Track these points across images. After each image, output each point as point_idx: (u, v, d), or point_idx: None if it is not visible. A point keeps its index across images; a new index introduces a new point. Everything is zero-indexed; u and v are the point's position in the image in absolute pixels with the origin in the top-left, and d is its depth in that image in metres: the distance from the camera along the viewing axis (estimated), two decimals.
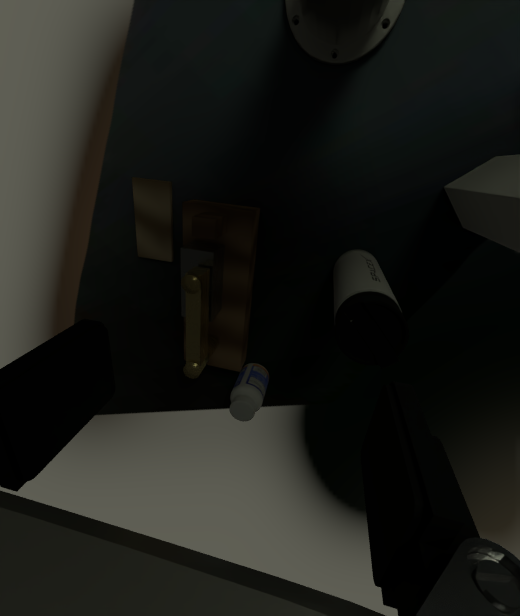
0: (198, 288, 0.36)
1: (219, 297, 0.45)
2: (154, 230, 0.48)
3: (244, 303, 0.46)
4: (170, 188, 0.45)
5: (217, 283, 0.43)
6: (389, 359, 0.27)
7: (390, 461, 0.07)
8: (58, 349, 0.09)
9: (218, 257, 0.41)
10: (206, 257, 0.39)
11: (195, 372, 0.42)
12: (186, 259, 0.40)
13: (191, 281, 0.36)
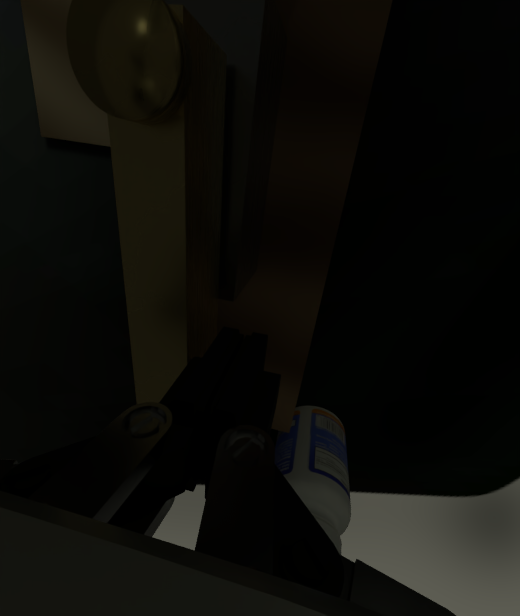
0: (167, 73, 0.06)
1: (257, 228, 0.14)
2: None
3: (327, 253, 0.16)
4: None
5: (259, 168, 0.12)
6: None
7: None
8: (222, 356, 0.09)
9: (273, 52, 0.11)
10: (232, 9, 0.09)
11: None
12: None
13: (123, 24, 0.06)
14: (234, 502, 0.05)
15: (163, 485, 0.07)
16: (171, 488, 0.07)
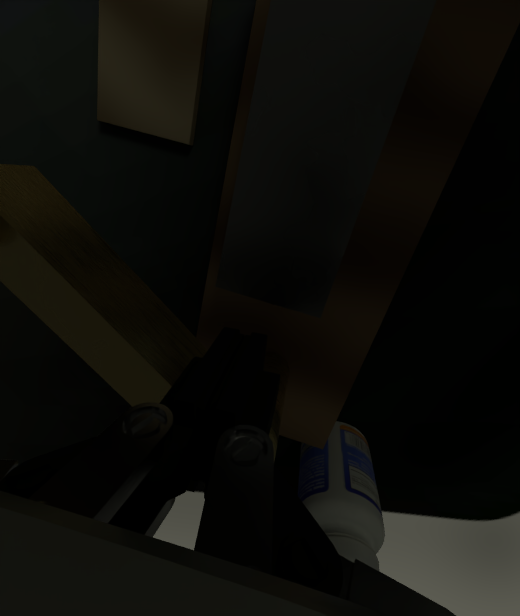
0: None
1: None
2: (152, 35, 0.17)
3: (398, 275, 0.15)
4: None
5: None
6: None
7: None
8: (223, 357, 0.09)
9: None
10: (391, 25, 0.09)
11: None
12: (290, 34, 0.09)
13: None
14: (233, 502, 0.05)
15: (163, 485, 0.07)
16: (171, 489, 0.07)
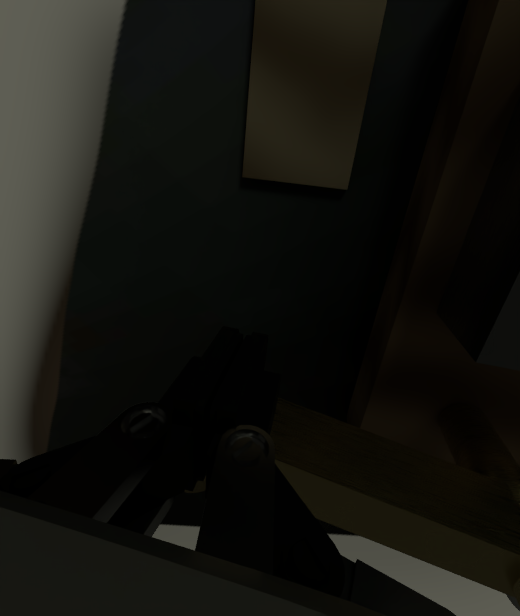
0: None
1: None
2: (311, 82, 0.15)
3: None
4: None
5: None
6: None
7: None
8: (222, 356, 0.09)
9: None
10: None
11: None
12: None
13: None
14: (234, 502, 0.05)
15: (163, 485, 0.07)
16: (170, 488, 0.07)
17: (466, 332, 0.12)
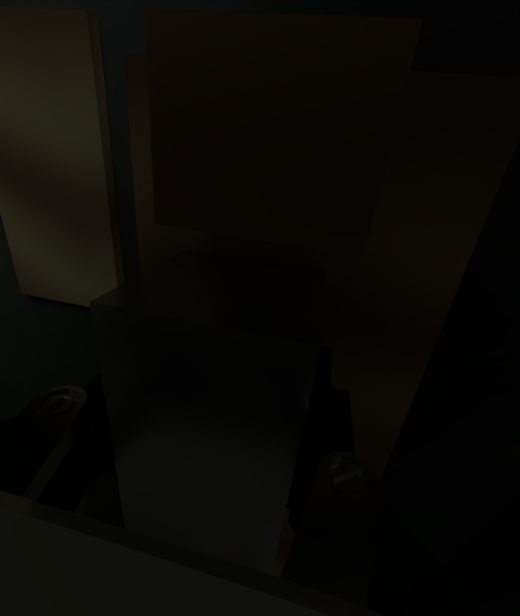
0: None
1: None
2: (55, 212, 0.14)
3: None
4: (93, 43, 0.11)
5: None
6: None
7: None
8: None
9: None
10: (263, 371, 0.06)
11: None
12: (132, 371, 0.06)
13: None
14: (329, 531, 0.05)
15: (88, 458, 0.08)
16: (88, 469, 0.08)
17: None
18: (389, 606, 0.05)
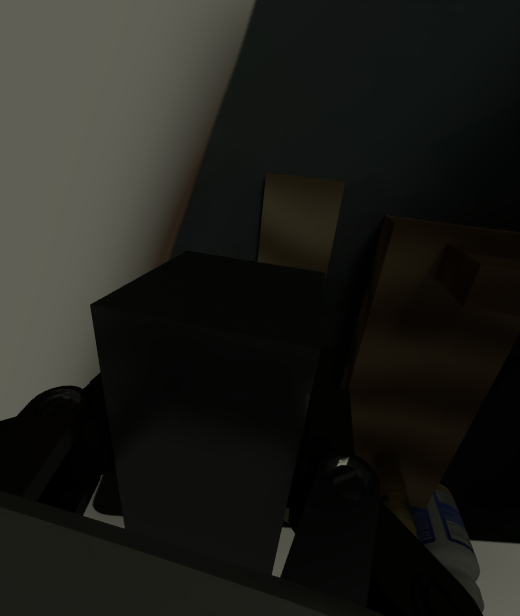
0: None
1: None
2: None
3: (474, 411, 0.24)
4: None
5: None
6: None
7: None
8: None
9: None
10: (262, 374, 0.06)
11: None
12: (132, 373, 0.07)
13: None
14: (330, 531, 0.05)
15: (88, 458, 0.08)
16: (88, 469, 0.08)
17: None
18: (389, 606, 0.05)
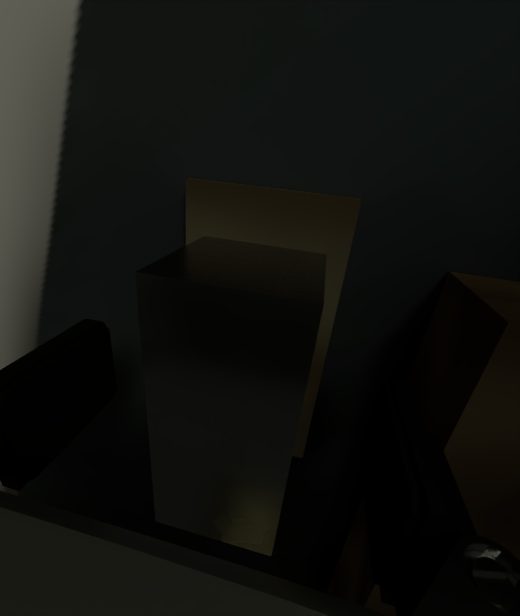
0: None
1: None
2: None
3: None
4: None
5: None
6: None
7: (388, 460, 0.07)
8: (60, 349, 0.09)
9: None
10: (276, 327, 0.07)
11: None
12: (167, 331, 0.08)
13: None
14: None
15: None
16: None
17: None
18: None
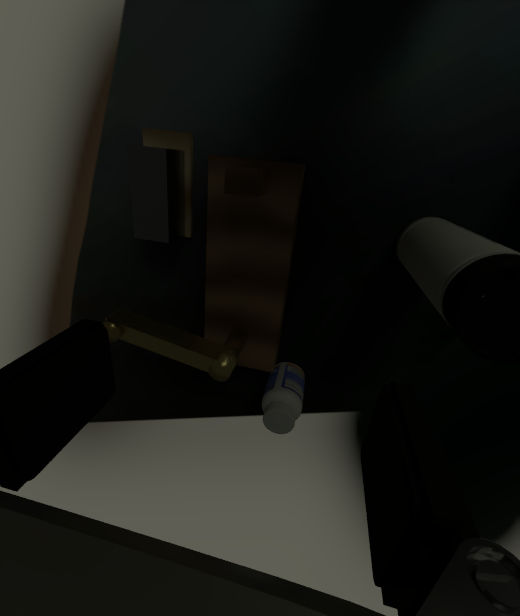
0: (111, 325, 0.33)
1: (180, 217, 0.38)
2: None
3: (283, 287, 0.37)
4: (191, 141, 0.35)
5: (175, 196, 0.36)
6: None
7: (390, 461, 0.07)
8: (58, 349, 0.09)
9: (174, 161, 0.34)
10: (157, 155, 0.32)
11: (220, 368, 0.33)
12: (134, 160, 0.33)
13: None
14: None
15: None
16: None
17: None
18: None
